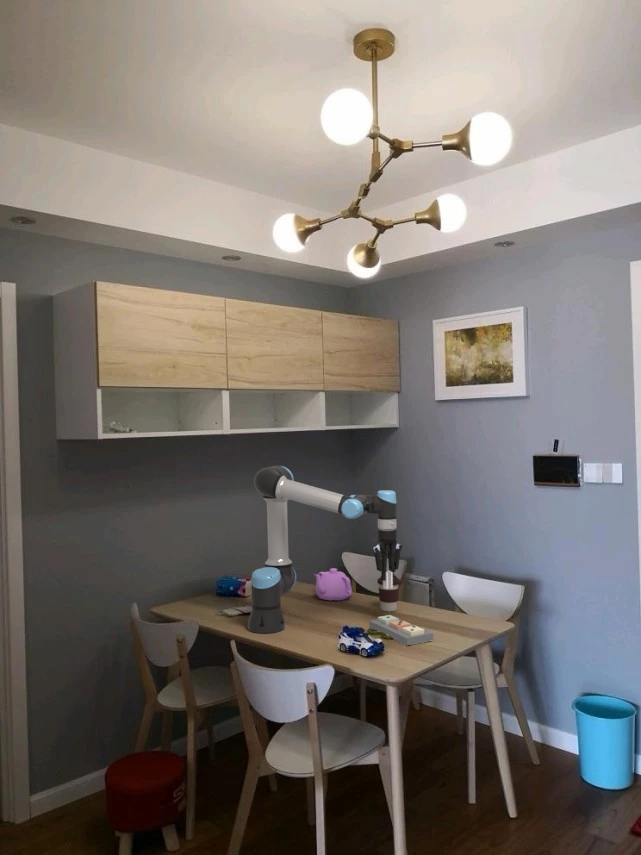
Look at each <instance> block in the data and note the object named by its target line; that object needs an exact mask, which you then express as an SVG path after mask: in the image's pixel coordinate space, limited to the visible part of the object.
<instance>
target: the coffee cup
mask: <svg viewBox="0 0 641 855" xmlns="http://www.w3.org/2000/svg"><path fill="white" fill-rule="evenodd" d="M376 583H377V584H378V597H379V603H380V605H379V606H380V610H381V611H383V612H386V611H387V613H390V612H391V611H393V612H396V611H398V604H399V603H398V601H399V593H400V592H399V591H400V588H399V585H400V584H401V580H400V578H398V576H397V575H395V574H394V579H393V588H388V589H385V588H383V580H382V579H381V576H380V577H379V578H377V582H376ZM391 613H392V612H391Z"/></svg>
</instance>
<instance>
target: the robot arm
mask: <svg viewBox="0 0 641 855" xmlns="http://www.w3.org/2000/svg"><path fill="white" fill-rule="evenodd" d="M253 484H254V485H253V486H254V488H255V489H256V492H258V493H259V494H261V495H262V499H263V500H264V501H265V502H266V516H267V517H266V520H267V526H266V527H267V554H268V558H267V560H266V561H265V562H264V567H261V568H257V569H255V570H254V571H253V572H251V580H250V585H251V611H250V615H249V617H248V621H247V630H248V631H249V632H251V633H256V634H273V633H278V632H281V631H284V630H285V628H286V621H285V617H284V614H283V612H282V609H281V606H282V605H281V596H282V595H283V594H287V593H288V592H290V591H291V589H293V587H294V585H295V584H296V582H297V573H296V570H295V569H294V567H293V561H292V560H291V559H290V558H289V529H288V528H289V527H288V526H289V525H288V501H289V500H291V501H293V502H296V503H301V504H303V505H304V504H305V505H308V506H310V507H313V508H314V507H315V508H318V509H322V510H324V511H329V512H332V513H336V514H339V515H341V516H343V517H345V518H346V519H350V520H355V519H357V518H360V517H362V516H363V515H377V529H378V530H377V539H378V542H377V545H376V546H373V547H372V548H371V549H372V551H373V553H374V554H373V555H374V559H375V566H376V571H379V572H380V573H381V575H380V577H381V579H382V580H383V588H385V589H388V588H393V579H394V575H395V572H396V570H399V566H400V558H401V551H402V549H403V545H401V544H399V543H398V541H397V539H398V536H397V535H398V532H397V531H398V530H397V527H398V526H397V523H398V522H397V493H396V492H395V491H394V490H390V489H388V490H387V489H386V490H385V489H384V490H378V491H377V494H376V495H368V494H367V495H366V494H351V495H350V496H348V495H345V494H341V493H338V492H334V491H330V490H327V489H324V488H319V487H316V486H312V485H309V484H306V483H302V482H299V481H295V480H294V475H293V473H292V472H291V470H290V469H289V468H287V467H286V466H283V465H273V466H268V467H263V468H261V469H260V470H258V471H257V472H256V473H255V476H254V479H253ZM387 567H388V570H387Z"/></svg>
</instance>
